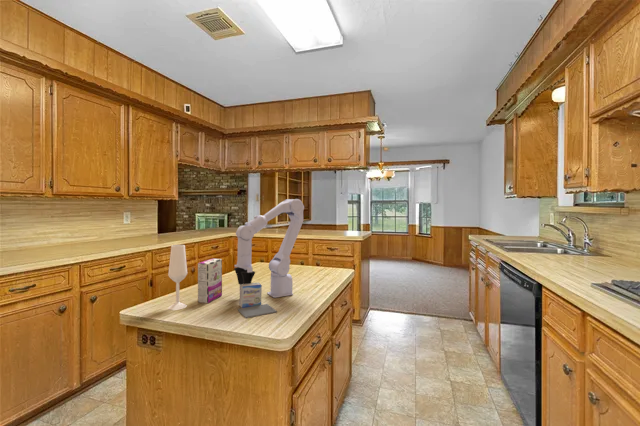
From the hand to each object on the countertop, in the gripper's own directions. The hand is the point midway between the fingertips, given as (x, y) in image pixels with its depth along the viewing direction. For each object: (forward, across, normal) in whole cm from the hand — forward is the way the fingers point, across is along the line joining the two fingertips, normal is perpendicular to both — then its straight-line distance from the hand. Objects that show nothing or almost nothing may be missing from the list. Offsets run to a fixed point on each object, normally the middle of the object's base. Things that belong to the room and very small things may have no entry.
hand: (244, 286), depth 125 cm
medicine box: (+6, +8, 0) cm, 10 cm away
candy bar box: (+6, -8, -12) cm, 16 cm away
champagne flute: (+6, -4, -25) cm, 26 cm away
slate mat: (+6, +16, 0) cm, 17 cm away
